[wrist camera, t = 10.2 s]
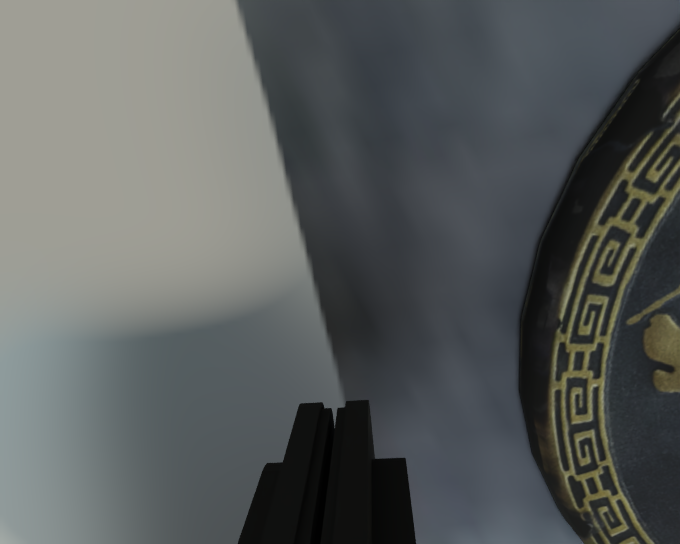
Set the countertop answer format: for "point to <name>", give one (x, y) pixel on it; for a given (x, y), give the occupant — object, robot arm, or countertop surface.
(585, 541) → the decorative plate
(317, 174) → the countertop surface
